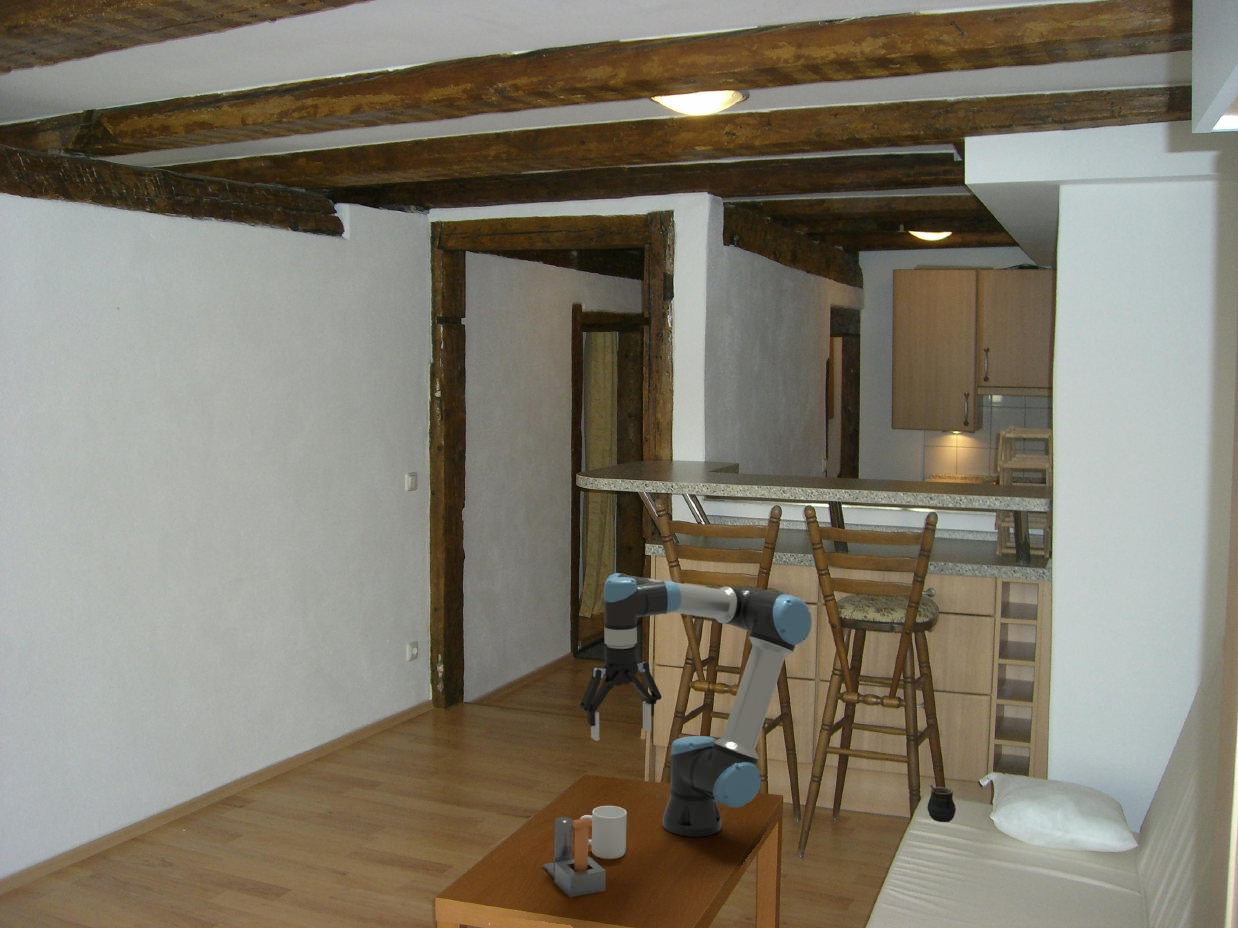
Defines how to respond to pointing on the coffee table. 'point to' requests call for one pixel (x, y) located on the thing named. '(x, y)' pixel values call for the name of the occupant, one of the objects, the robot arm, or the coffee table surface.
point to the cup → (608, 831)
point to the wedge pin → (581, 843)
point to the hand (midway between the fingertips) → (621, 734)
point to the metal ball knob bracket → (564, 865)
